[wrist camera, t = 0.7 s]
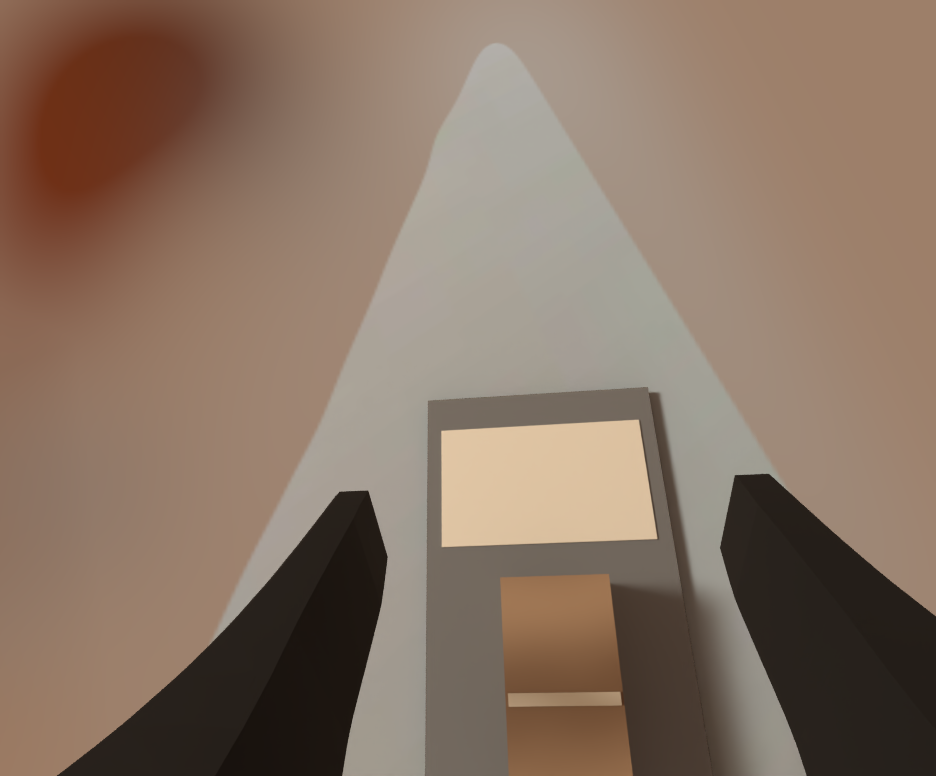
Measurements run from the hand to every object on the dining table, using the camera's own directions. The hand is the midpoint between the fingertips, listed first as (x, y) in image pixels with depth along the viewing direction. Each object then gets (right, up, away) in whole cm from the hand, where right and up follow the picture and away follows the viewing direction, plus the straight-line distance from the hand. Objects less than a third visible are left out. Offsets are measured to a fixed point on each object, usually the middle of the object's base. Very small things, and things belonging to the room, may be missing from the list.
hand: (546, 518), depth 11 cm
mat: (+2, -6, +13) cm, 15 cm away
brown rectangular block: (+2, -10, +11) cm, 15 cm away
